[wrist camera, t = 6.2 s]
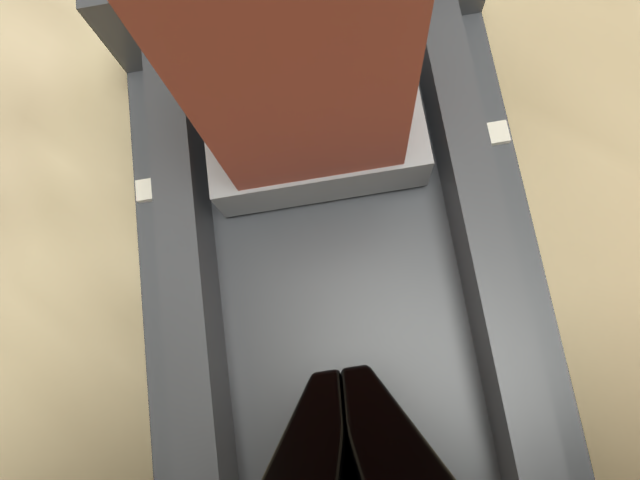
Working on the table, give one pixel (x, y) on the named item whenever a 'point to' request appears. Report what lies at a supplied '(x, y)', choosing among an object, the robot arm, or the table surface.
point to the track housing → (351, 287)
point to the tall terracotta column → (294, 93)
